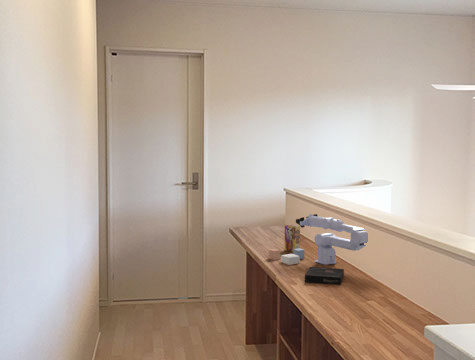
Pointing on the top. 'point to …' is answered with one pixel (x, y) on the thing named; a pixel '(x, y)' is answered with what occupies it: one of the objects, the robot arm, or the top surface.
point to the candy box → (292, 237)
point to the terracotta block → (274, 254)
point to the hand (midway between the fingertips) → (301, 219)
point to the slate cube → (299, 252)
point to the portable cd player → (324, 275)
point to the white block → (290, 259)
